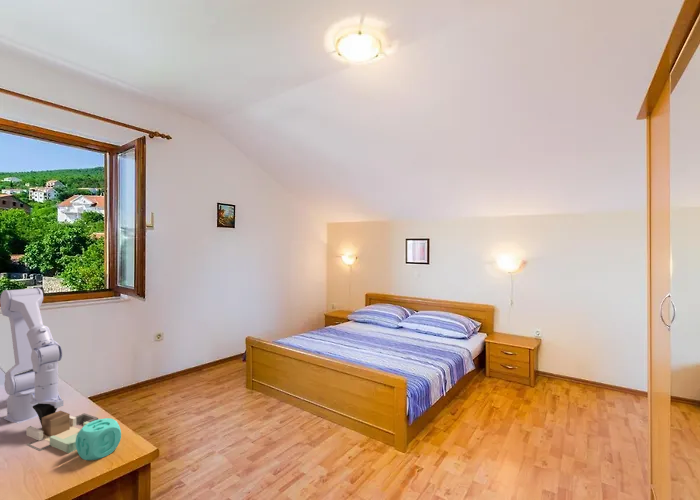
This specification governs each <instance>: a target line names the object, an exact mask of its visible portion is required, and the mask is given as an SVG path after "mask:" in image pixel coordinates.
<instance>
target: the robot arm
mask: <svg viewBox="0 0 700 500" xmlns="http://www.w3.org/2000/svg"><path fill="white" fill-rule="evenodd" d="M43 301H44V293H43V290H42V289H41V287H35V288H34V287H33V288H21V289H11V290H10V289H9V290H8V289H4V290H3V291H2V292H1V294H0V312H1V313H2V316H4V317H6V318H7V317H8V320H9V324H10V332H11V339H12V349H13V356H14V357H13V358H14V365H13V366H12V367H11V368H10V369H8V370H7V371H6V372H5V374H4V386H3V387H4V390H5V393H6V394H7V395H8V397H7V400H6V403H7V404H6V413H7V414H6V416H4V417H3V420H5V421H8V422H10V423H15V424H21V423H24V422H26V421H30V420H32V419H36V418H38V419H39V423H40V425H41V426H42V417H45V416H47V415H50V414H53V413H55V412H57V410H58V408H62V407H63V406H64V399H62V398H61V396H60V393H59V361H61V360H62V357H63V349H62V346H61V344H60V343H58V341H56V340H54V337H53V335H52V331H51V329H50V327H49V326H47V325H44V321H43V317H42V313H41V309H40V308H41V307H42V303H43ZM29 370H33V371H29ZM26 371H29V372H26ZM22 372H25V373H22ZM19 373H21V374H19ZM16 374H17V375H16Z"/></svg>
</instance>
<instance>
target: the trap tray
mask: <svg viewBox="0 0 700 500" xmlns="http://www.w3.org/2000/svg"><path fill="white" fill-rule="evenodd" d="M98 419H99V417H97V416H94V415H91V414H88V413H82V414H79V415H76V416H73V415H70V429H69V430H67V431H64V432H62V433H60V434H57V435H55V436H54V435H53V436H51V437H49V436H47V435H44V434H43V431H42V428H41V429H38V428H37V427H34V426H31V425H30V426H27V427H26V428H25V429H26V433H25V435H26V436H27V437H30V438H32V439H35V440H34V441H30V442H29V443H26V444H25V446H28V447H30V448H32V449H35V450H37V451H39V452H41V451H43V450H46V449H48V448H50V447H53V448H54V449H55V448H56V449H57V450H60V451H62V452H65V453H66V454H70V453H73V452H74V451H77V449H76V437H77V434H78V433H79V431H80V430H81V429H82V428H83V427H84V426H85V425H86V424H88V423H90V422H92V421H95V420H98ZM80 424H83V427H82V428H78V427H76V426H78V425H80ZM42 440H45V441H46V442H49V444H48V445H47V446H45V447H42V448H38V447H36V446H34V445H32V444H35V443H37V442H39V441H42Z"/></svg>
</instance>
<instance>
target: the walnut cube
mask: <svg viewBox="0 0 700 500" xmlns="http://www.w3.org/2000/svg"><path fill="white" fill-rule="evenodd" d="M70 416H71V415H70V413H69V412H65V411H64V410H58V411H56V412H55V413H53V414H50V415H47V416H45V417H42V425H41V429H42V431H43V434H44V435H47V436H49V437H51V436H53V435H54V436H55V435H57V434H60V433H62V432H64V431H67V430H69V429H70Z"/></svg>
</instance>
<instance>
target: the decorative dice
mask: <svg viewBox="0 0 700 500" xmlns="http://www.w3.org/2000/svg"><path fill="white" fill-rule="evenodd" d="M80 429H81V430H80V431H79V433H78V434H77V437H76V449H77V450H76V452H77V454H78V455H79V457H80V458H81V459H82V460H85V461H95V460H96V461H97V460H100V459H103V458H105V457H107V456H109V455H111V454H112V453H113V452H114V451H115V450H116V449H117V448H118V446H119V444H120V442H121V440H122V430H121V427H120V425H119V423H118V421H117V420H115V419H114V418H111V417H110V418H109V417H108V418H107V417H105V418H98V420H95V421H92V422H90V423H88V424H86V425H85V426H84V427H82V428H80Z"/></svg>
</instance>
